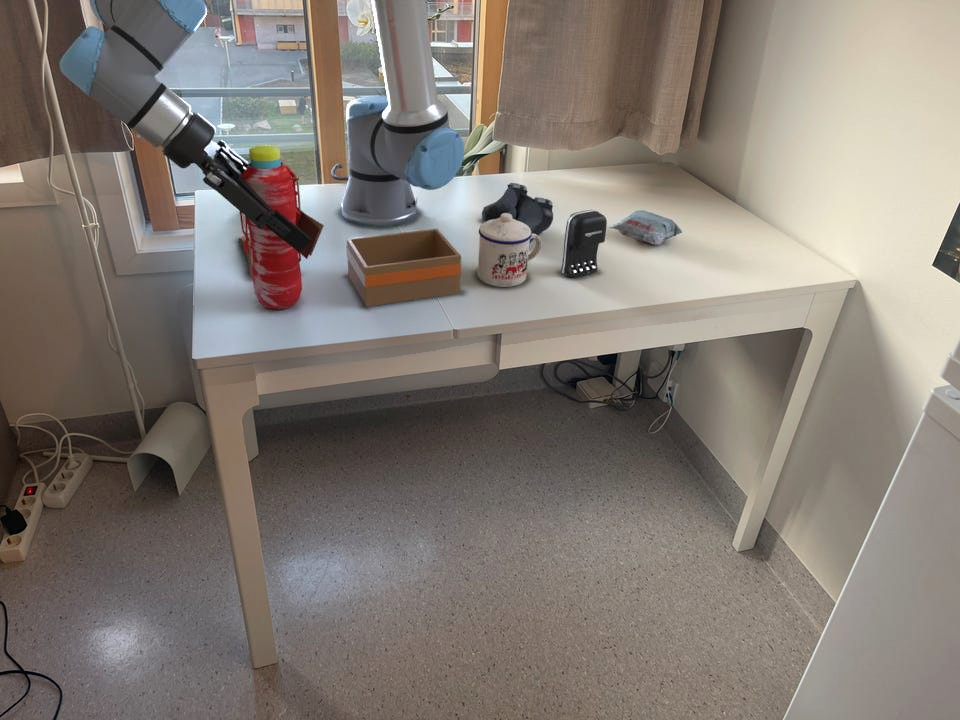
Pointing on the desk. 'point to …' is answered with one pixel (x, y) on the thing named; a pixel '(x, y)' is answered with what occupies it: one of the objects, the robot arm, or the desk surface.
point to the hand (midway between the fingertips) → (304, 234)
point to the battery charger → (583, 242)
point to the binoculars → (522, 209)
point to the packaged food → (647, 227)
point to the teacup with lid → (505, 251)
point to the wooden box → (403, 267)
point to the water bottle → (269, 252)
